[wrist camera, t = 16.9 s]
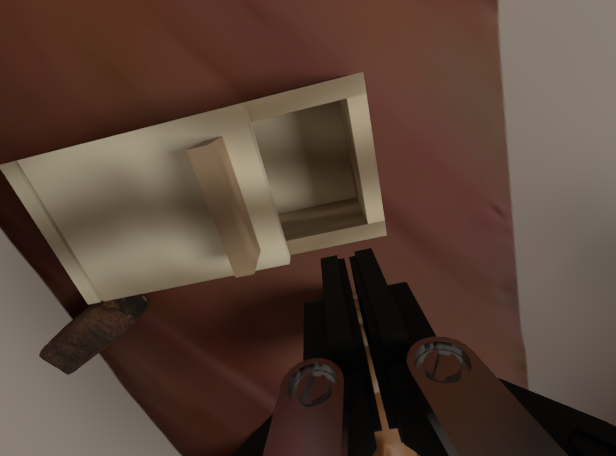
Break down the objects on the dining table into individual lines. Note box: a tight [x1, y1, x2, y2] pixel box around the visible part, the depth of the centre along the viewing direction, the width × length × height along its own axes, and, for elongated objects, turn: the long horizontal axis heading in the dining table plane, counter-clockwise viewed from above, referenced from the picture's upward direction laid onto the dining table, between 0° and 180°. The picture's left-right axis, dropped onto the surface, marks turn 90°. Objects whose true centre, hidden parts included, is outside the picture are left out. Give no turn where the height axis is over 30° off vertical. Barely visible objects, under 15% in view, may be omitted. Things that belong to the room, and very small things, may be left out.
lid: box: [0, 102, 290, 305], centre depth 23 cm, size 11×16×10 cm
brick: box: [40, 294, 149, 374], centre depth 33 cm, size 11×4×5 cm, turn 129°
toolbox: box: [161, 72, 387, 255], centre depth 25 cm, size 11×14×7 cm
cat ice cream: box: [352, 292, 417, 456], centre depth 26 cm, size 9×8×18 cm
